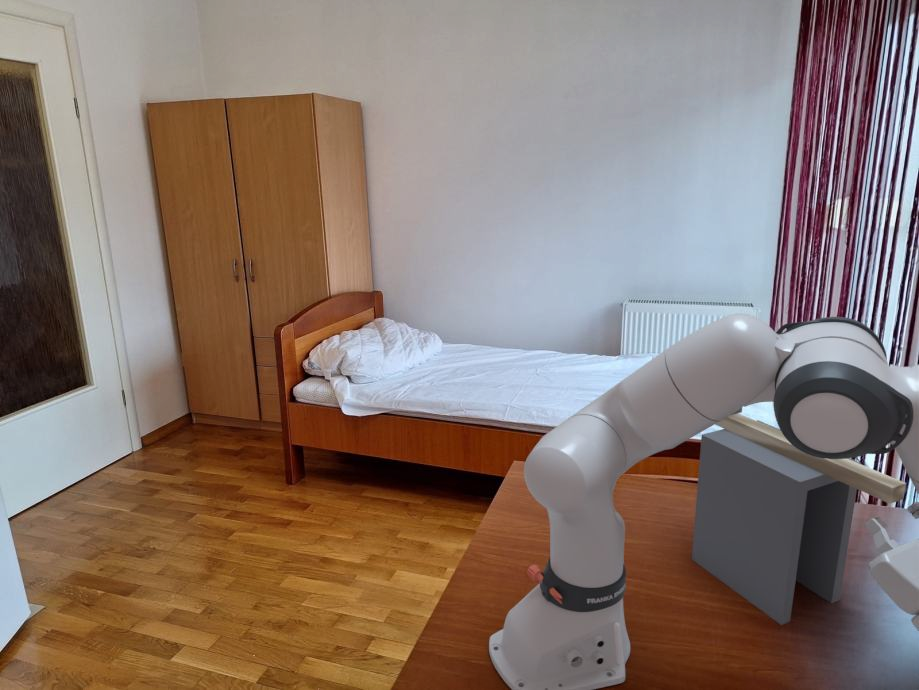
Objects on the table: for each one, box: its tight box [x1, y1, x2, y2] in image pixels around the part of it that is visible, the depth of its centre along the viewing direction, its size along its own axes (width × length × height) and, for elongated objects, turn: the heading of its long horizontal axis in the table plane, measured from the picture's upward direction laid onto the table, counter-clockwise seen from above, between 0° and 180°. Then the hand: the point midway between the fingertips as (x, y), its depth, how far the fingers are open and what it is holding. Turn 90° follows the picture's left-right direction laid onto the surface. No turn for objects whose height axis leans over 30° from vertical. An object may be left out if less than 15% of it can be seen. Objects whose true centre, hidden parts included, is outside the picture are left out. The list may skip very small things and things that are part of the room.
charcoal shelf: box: [691, 420, 862, 626], centre depth 110 cm, size 14×20×26 cm
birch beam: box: [714, 407, 907, 504], centre depth 104 cm, size 5×36×6 cm, turn 24°
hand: (892, 512), depth 90 cm, fingers open, 8 cm apart
